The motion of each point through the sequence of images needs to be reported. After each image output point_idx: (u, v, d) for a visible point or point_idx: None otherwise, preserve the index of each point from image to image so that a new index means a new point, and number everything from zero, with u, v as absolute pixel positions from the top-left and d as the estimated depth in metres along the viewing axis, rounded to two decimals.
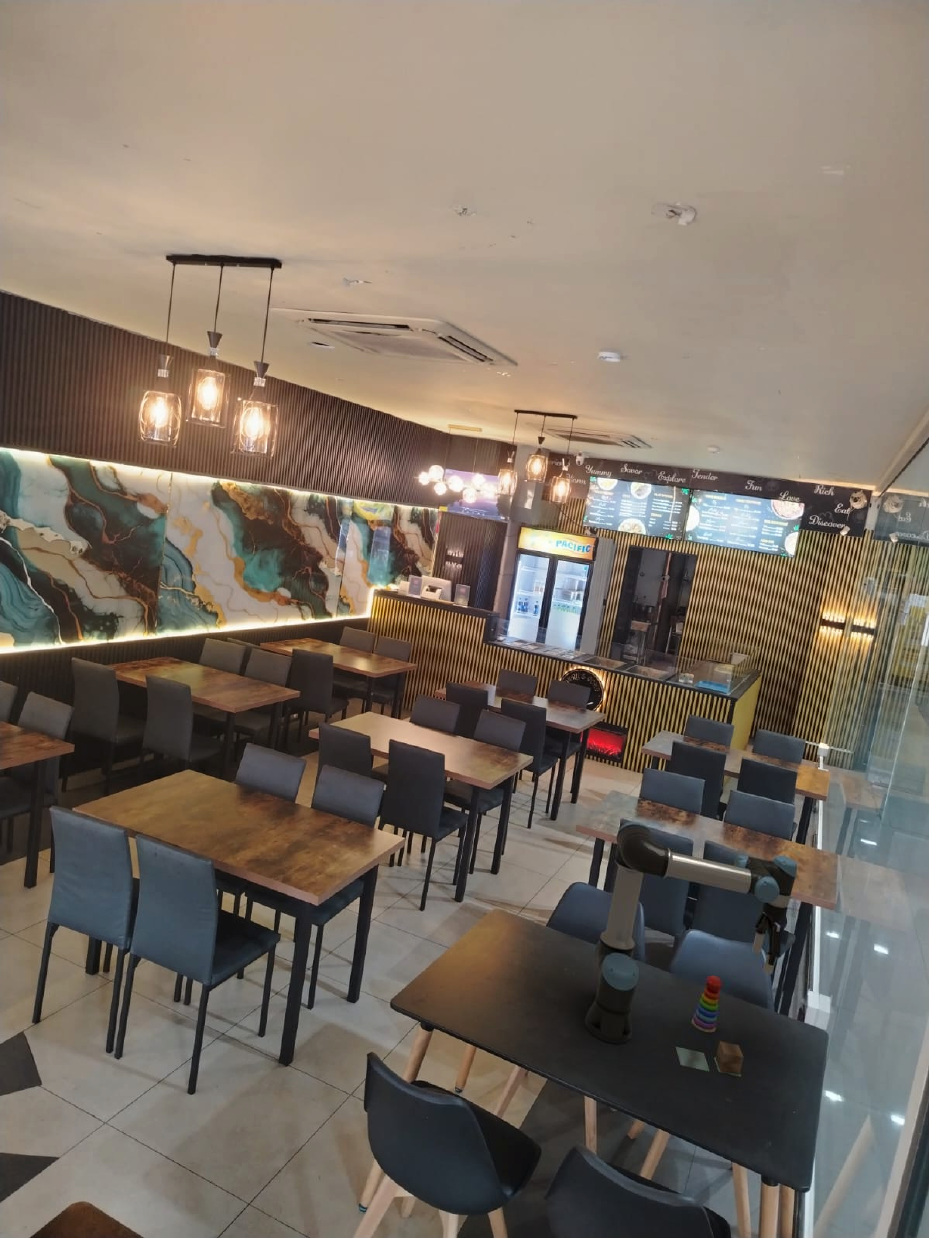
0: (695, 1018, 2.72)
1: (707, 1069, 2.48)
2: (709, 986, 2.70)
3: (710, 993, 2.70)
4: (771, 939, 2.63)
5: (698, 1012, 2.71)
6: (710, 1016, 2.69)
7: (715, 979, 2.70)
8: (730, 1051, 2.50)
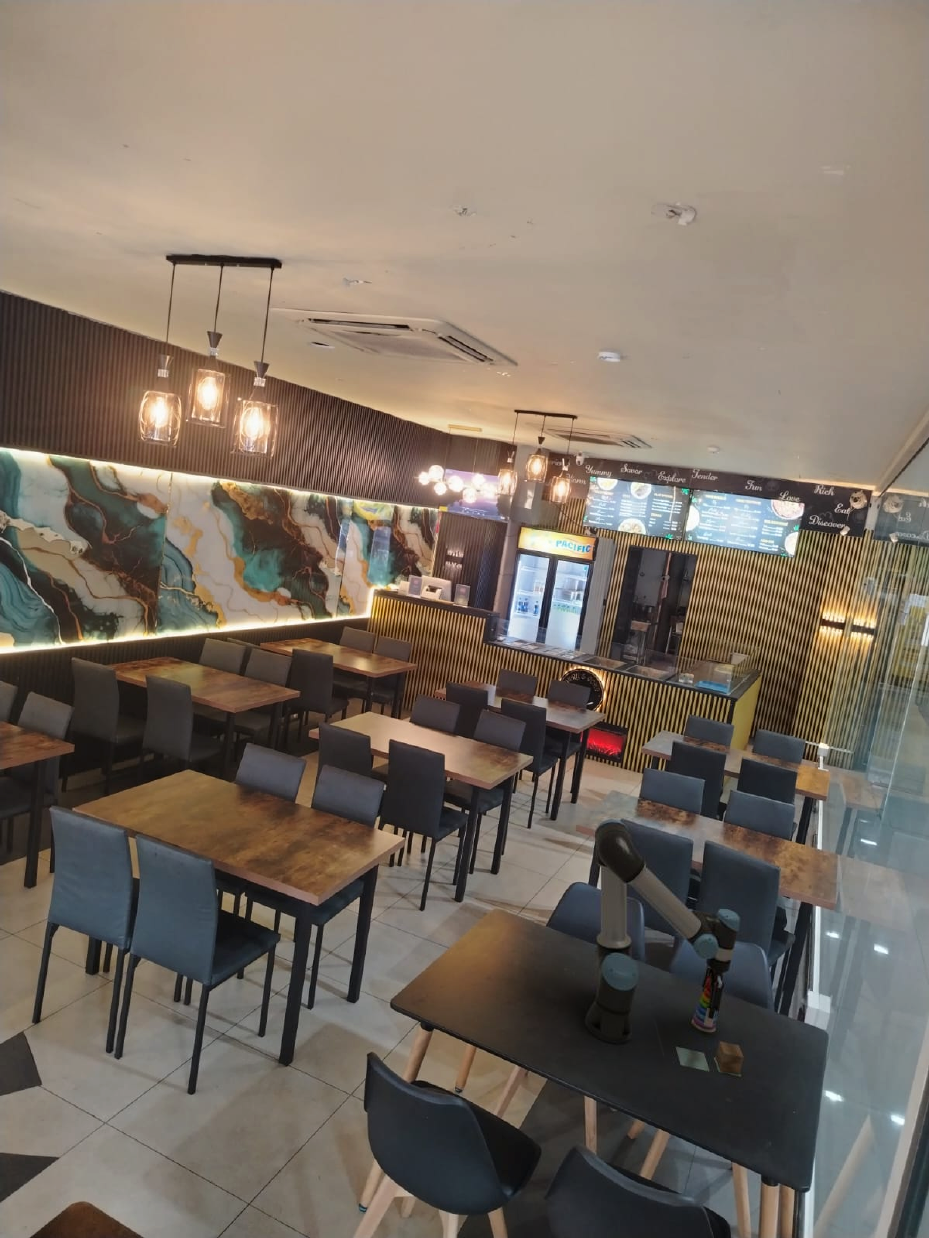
0: (695, 1018, 2.72)
1: (707, 1069, 2.48)
2: (709, 986, 2.70)
3: None
4: (712, 993, 2.67)
5: (698, 1012, 2.71)
6: None
7: None
8: (730, 1051, 2.50)
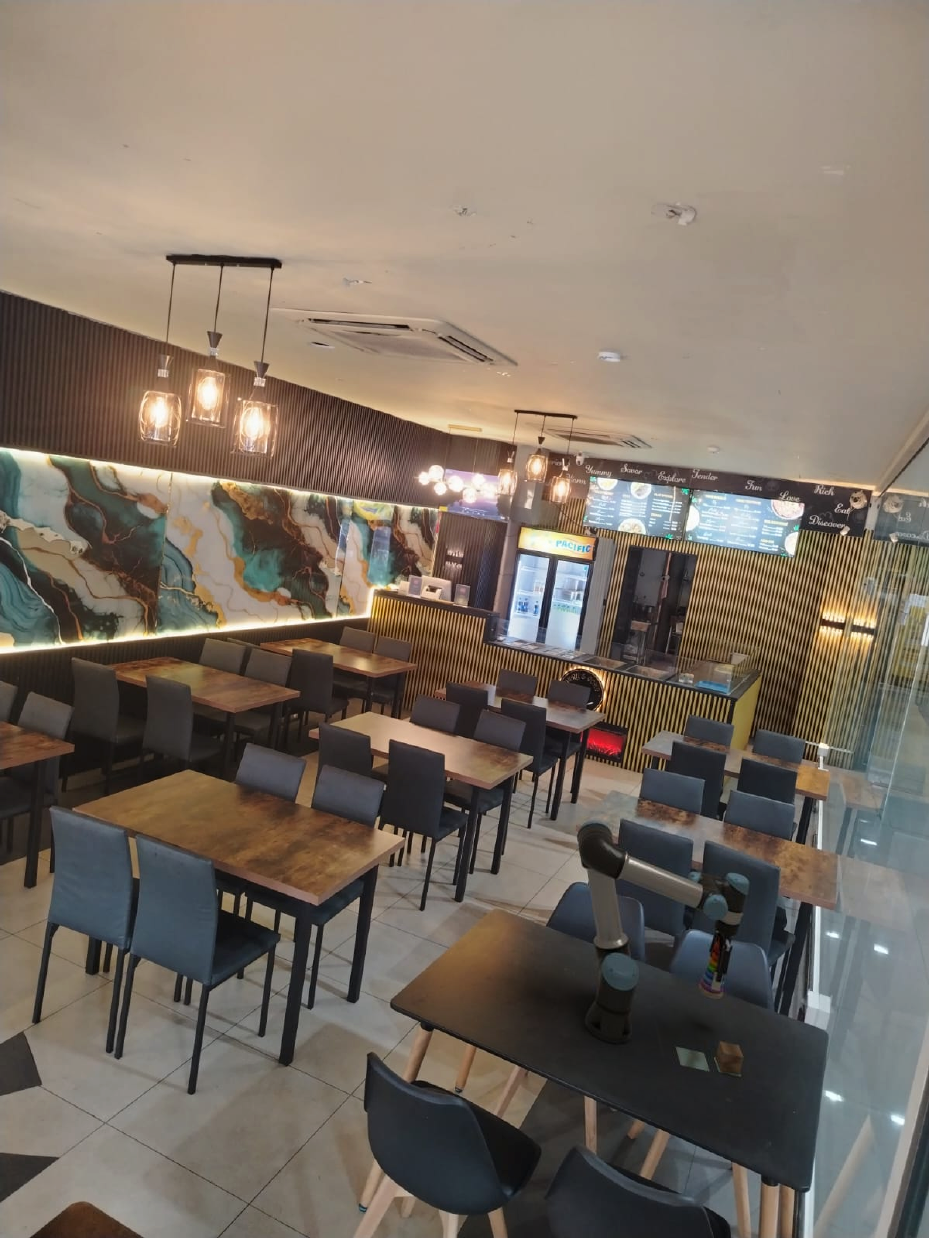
0: (702, 982, 2.70)
1: (707, 1069, 2.48)
2: (717, 950, 2.68)
3: None
4: (720, 957, 2.66)
5: (705, 976, 2.70)
6: None
7: None
8: (730, 1051, 2.50)
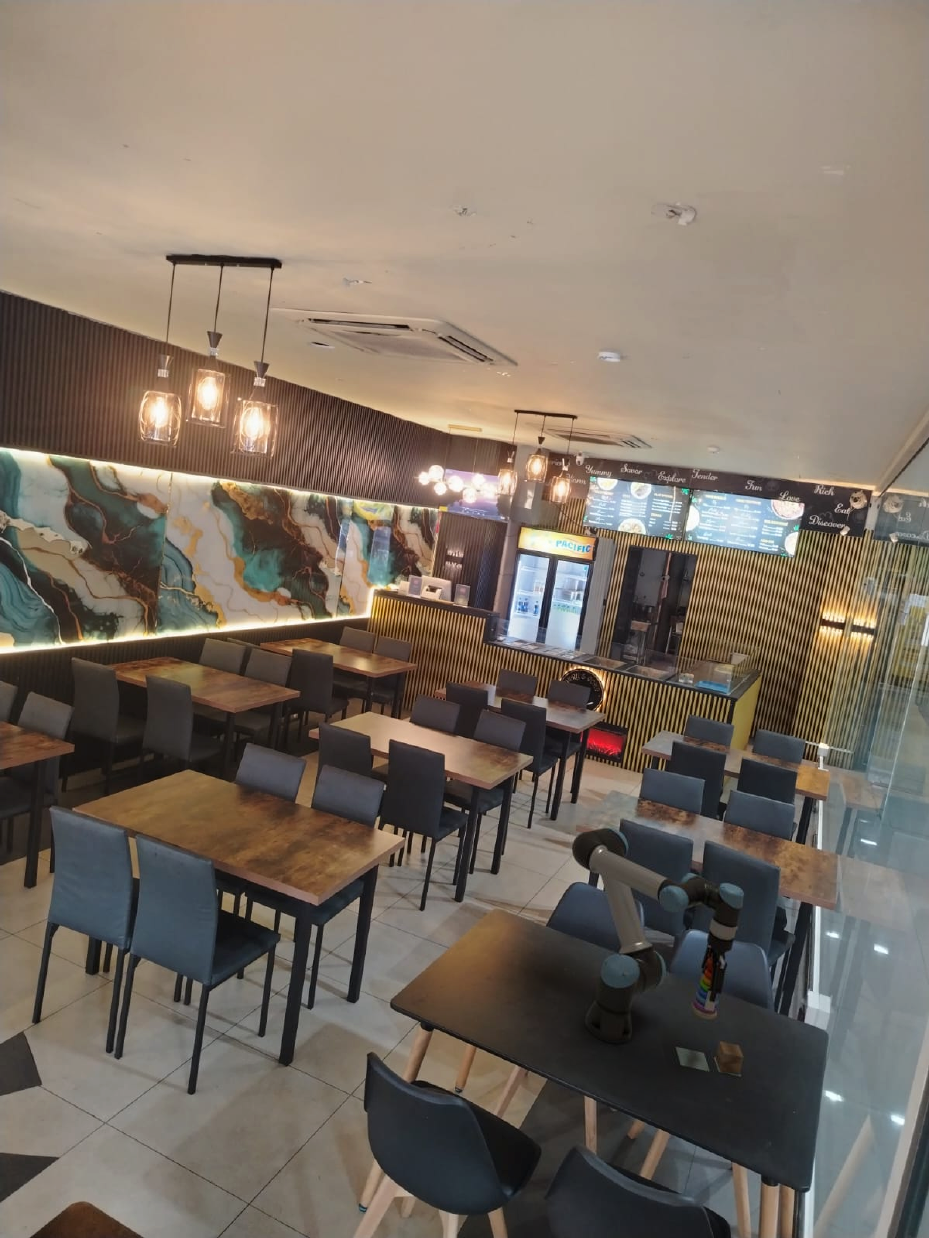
0: (695, 1002, 2.51)
1: (707, 1069, 2.48)
2: (710, 967, 2.49)
3: None
4: (714, 974, 2.46)
5: (698, 995, 2.51)
6: None
7: None
8: (730, 1051, 2.50)
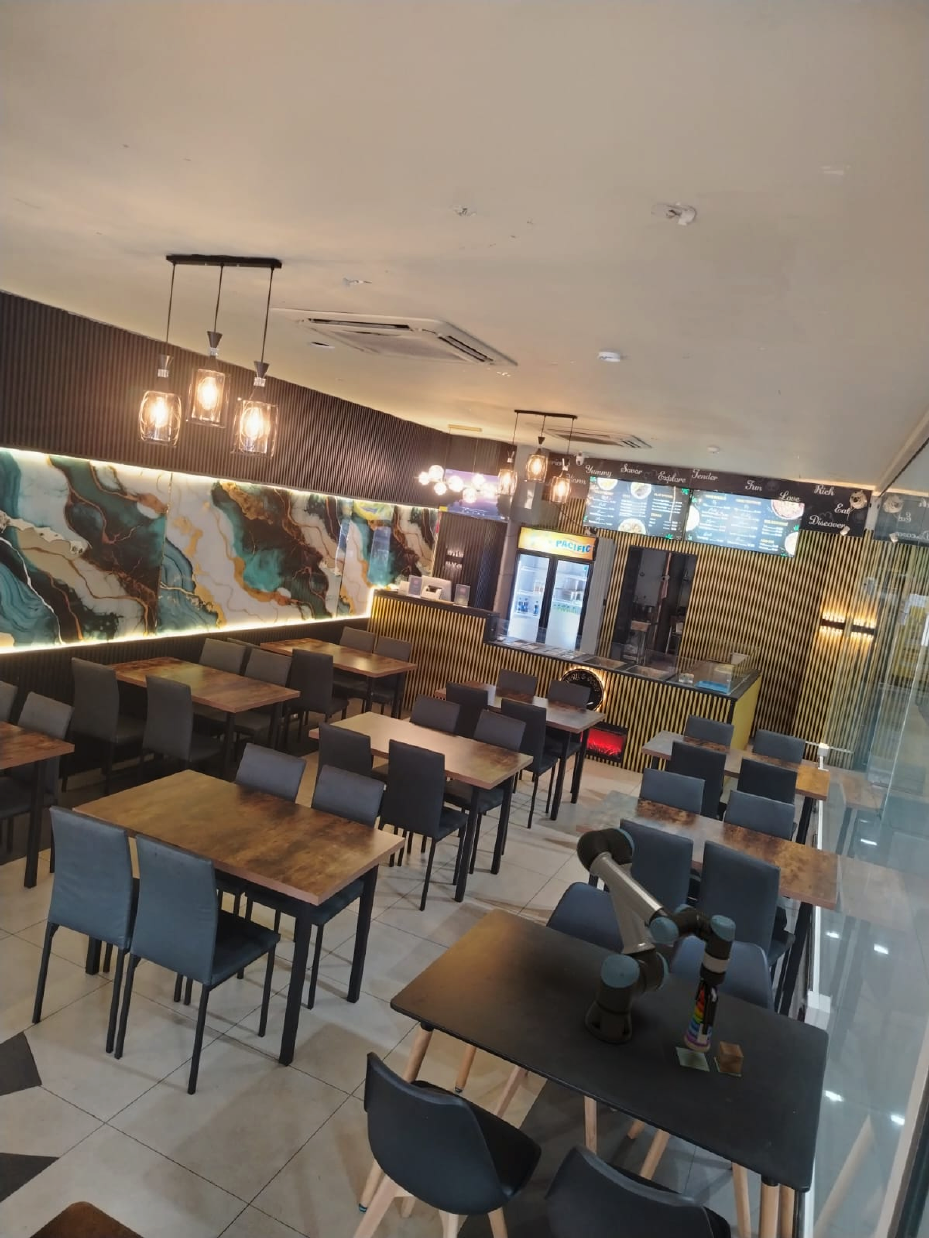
0: (688, 1034, 2.50)
1: (707, 1069, 2.48)
2: (703, 999, 2.49)
3: None
4: (706, 1007, 2.46)
5: (691, 1028, 2.50)
6: None
7: None
8: (730, 1051, 2.50)
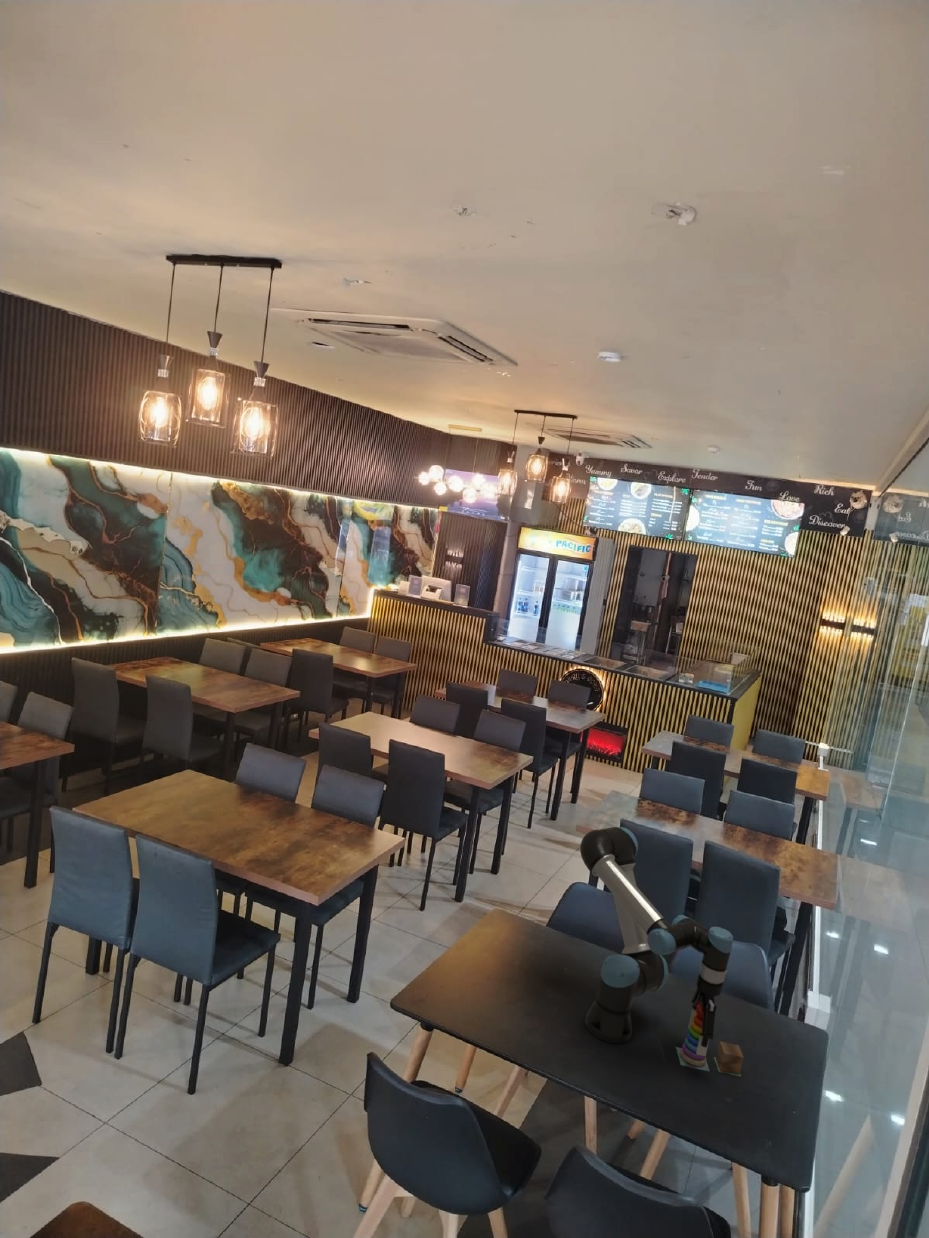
0: (684, 1048, 2.51)
1: (707, 1069, 2.48)
2: (699, 1014, 2.49)
3: (700, 1021, 2.49)
4: (705, 1018, 2.45)
5: (687, 1041, 2.51)
6: None
7: None
8: (730, 1051, 2.50)
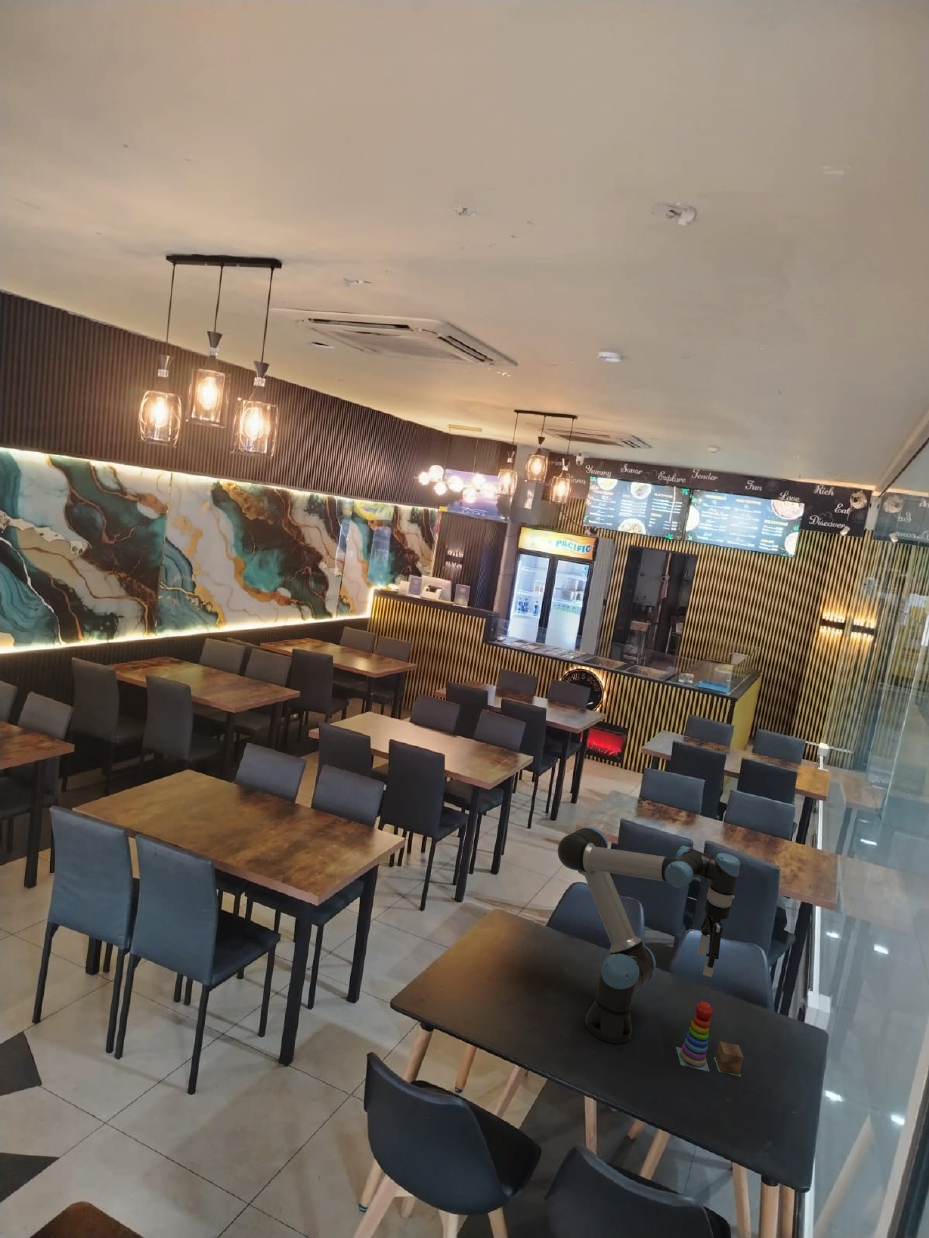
0: (684, 1048, 2.51)
1: (707, 1069, 2.48)
2: (699, 1013, 2.49)
3: (700, 1021, 2.49)
4: (711, 940, 2.51)
5: (687, 1041, 2.51)
6: (700, 1046, 2.49)
7: (705, 1006, 2.49)
8: (730, 1051, 2.50)
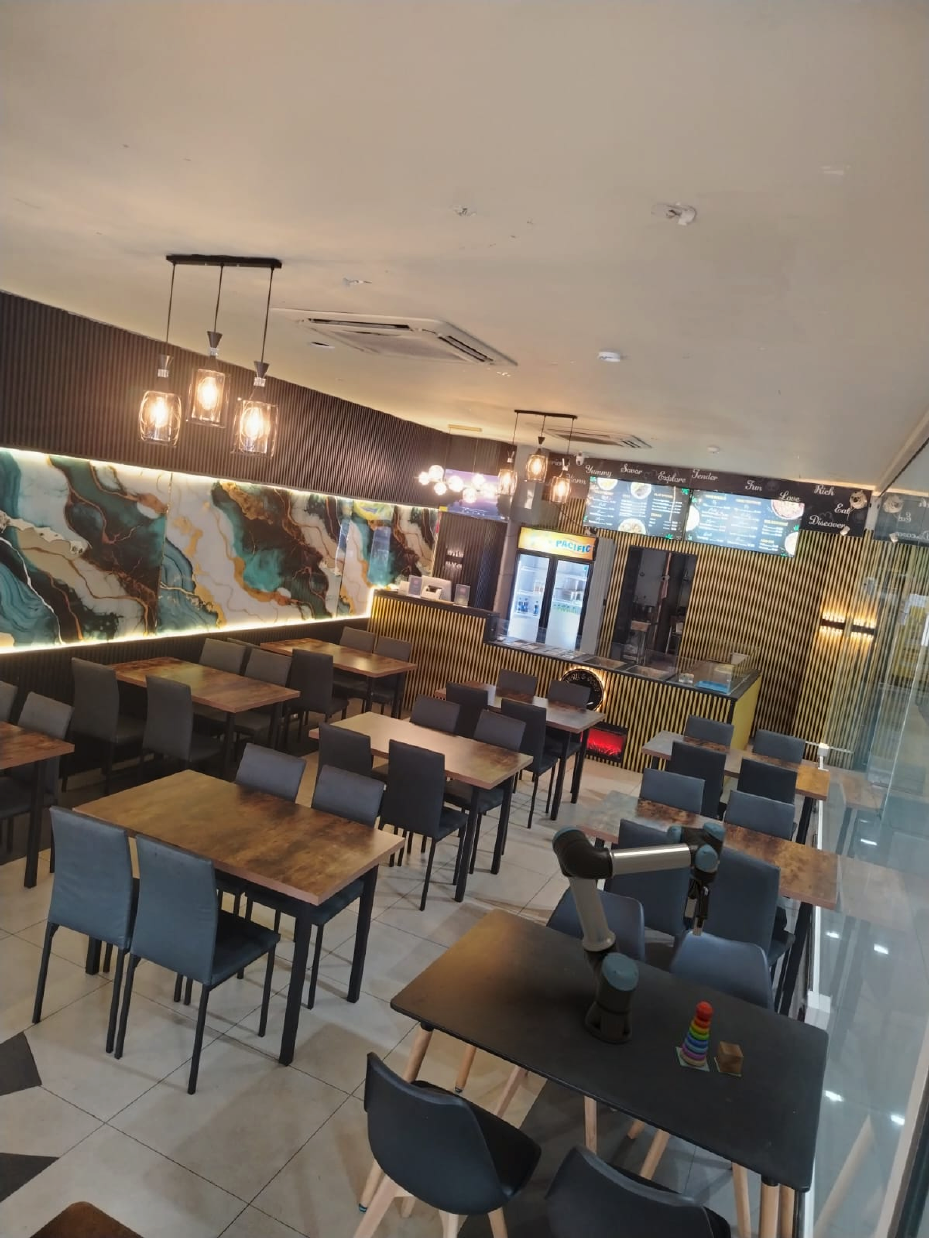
0: (684, 1048, 2.51)
1: (707, 1069, 2.48)
2: (699, 1013, 2.49)
3: (700, 1021, 2.49)
4: (700, 903, 2.70)
5: (687, 1041, 2.51)
6: (700, 1046, 2.49)
7: (706, 1006, 2.49)
8: (730, 1051, 2.50)
